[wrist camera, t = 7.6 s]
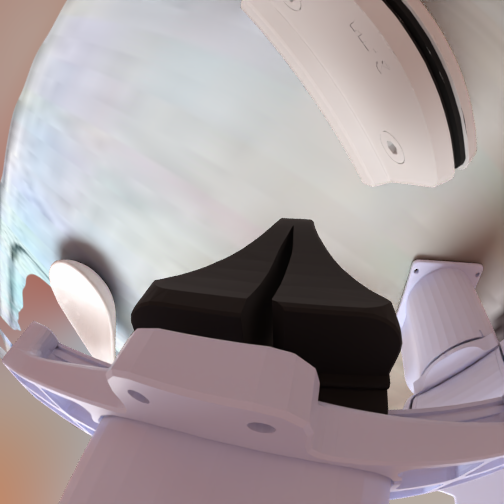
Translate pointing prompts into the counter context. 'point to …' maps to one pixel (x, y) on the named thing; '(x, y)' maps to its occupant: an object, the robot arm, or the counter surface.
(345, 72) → the white curved piece
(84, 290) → the spoon rest
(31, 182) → the counter surface
